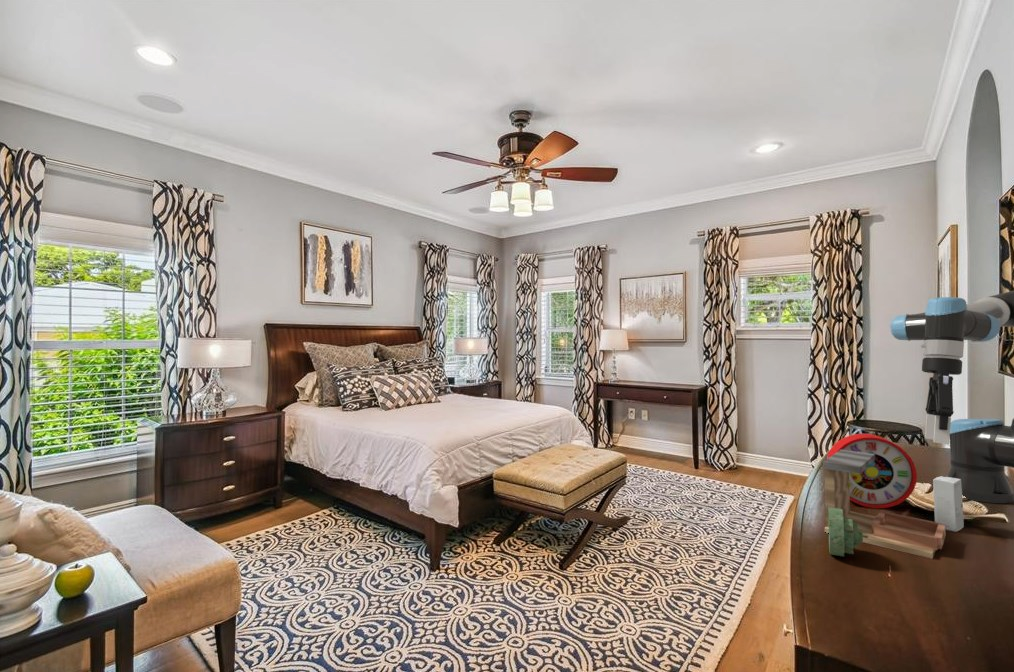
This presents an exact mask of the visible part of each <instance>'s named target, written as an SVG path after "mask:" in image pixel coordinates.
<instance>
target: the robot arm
mask: <svg viewBox="0 0 1014 672" xmlns="http://www.w3.org/2000/svg"><path fill="white" fill-rule="evenodd" d="M889 326H890V333H891V335H892V336H893V337H894V339H896V340H898V341H908V342H910V341H924V342H923V343H921V344H920V347H921V348H923V350H922V351H923V352H922V355H923V356H925V357H923V358H922V363H921V371H922V372H923V373H928V374H933V375H932V377H931V376H930V377H929V381H928V385H929V386H928V394H927V400H926V406H925V408H924V409H925V411H926V416H925V417H926V419H925V431H924V432H925V434H924V439H927V440H932V441H933V443H937V444H943V445H947V446H948V445H949V450H950V451H949V453H950V454H949V455H950V456H949V457H950V459H949V460H950V466H949V470H948V472H947V473H946V475H945V477H951V478H957V479H961V487H962V495H963V496H965V497H966V498H968V499H967V500H971V501H976V502H981V503H982V502H983V503H989V504H990V503H991V504H1009V503H1011V504H1012V503H1014V491H1013V489H1012V487H1011V485H1010V482H1009V480H1008V478H1007V476H1006V475H1007V474H1006V473H1005V467H1008V468H1012V469H1013V468H1014V417H1013V418H1012V420H1011V425H1005V423H1004V421H1003V419H999V418H998V419H997V418H959V419H954V420H952V418H951V417H952V416H953V414H954V412H955V411H954V402H953V401H954V398H953V397H954V395H953V394H954V393H953V381H954V377H953V376H955V375H957V376H959V375H961V374H963V372H962V371H963V361H962V360H961V359H962V358H964V348H965V341H970V342H982V343H983V342H988V341H991V340H993V339H994V338H996V337H997V336H998V334H999V333H1000V330H1001V327H1003V328H1006V327H1007V328H1008V327H1009V328H1010V327H1011V328H1014V290H1010V291H1006V292H1002V293H997V294H994V295H990V296H985V297H982V298H979V299H977V300H976V301H975V302H971V303H967V301H966V299H964V298H962V297H956V296H955V297H954V296H953V297H952V296H945V297H943V296H941V297H940V296H939V297H934V298H931V299H928V301H927V303H926V308H925V312H919V313H914V314H913V313H912V314H910V313H909V314H908V313H906V314H901V315H896V316H894V318H893V319H891V322H890V324H889ZM952 375H953V376H952Z"/></svg>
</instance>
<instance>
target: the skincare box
mask: <svg viewBox="0 0 1014 672" xmlns="http://www.w3.org/2000/svg"><path fill="white" fill-rule="evenodd" d="M932 483H933V484H932V485H933V486H932V487H933V488H932V489H933V490H932V491H933V507H934V509H933V511H934V522H938V523H942V525H945V531H950V532H958V531H961V530H962V529H963V528H965V525H964V524H965V522H964V521H965V520H964V507H963V506H964V505H963V502H964V501H963V498H962V487H961V479H957V478H951V477H946V476H944V475H943V476H942V475H941V476H937V477H935V478H933V480H932Z"/></svg>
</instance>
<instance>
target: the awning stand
mask: <svg viewBox="0 0 1014 672" xmlns="http://www.w3.org/2000/svg"><path fill="white" fill-rule="evenodd" d="M874 461H875V454H870V453H862V452H855V451H847V450H839V451H838V452H837V453H835V454H834V455H832V456H831V457H829V458H828V459H827V458H826V459H825V460H824V461H822V469H824V470H823V472H824V473H823V474H824V507H825V509H824V510H825V511H824V512H825V514H824V516H825V522H824V523H825V526H824V533H825V532H826V533H825V534H828V533H829V525H828V507H831V508H837V509H842V510H843V518H849V519H852V520H853V523H857V525H858V530H862V532H863V535H865V536H868V538H864V537H863V543H866V544H868V545H869V544H870V545H874V546H878V547H882V548H886V549H890V550H894V551H898V552H902V553H906V554H911V555H915V556H919V557H923V558H928V559H931V560H933V559H934V556H935V553H936V551H938V549H939V550H942V548H943V546H944V542H945V539H946V537H947V536H946V533H947V532H946V531H947V530H945V525H942V523H938V522H935V521H932V520H927V519H922V518H917V517H913V516H912V517H911V516H906V515H902V514H896V513H892V512H887V511H882V512H880V511H879V512H878V514H877V515H870V514H865V513H860V512H856V511H851V507H850V502H851V500H850V493H849V472H850V473H857V474H861V473H862V472H863V471H864V470H865V469H866V468H867V467H868V466H869V465H870V464H871V463H872V462H874Z"/></svg>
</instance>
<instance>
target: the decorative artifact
mask: <svg viewBox="0 0 1014 672" xmlns="http://www.w3.org/2000/svg"><path fill="white" fill-rule="evenodd" d="M828 525H829V534H828V550H829V555H831V556H837V557H842V558H843V557H844V558H845V554H849V555H854V548H859V544H860V543H861V544H863V543H864V542H863V537H864V538H868V536H865V535H863V532H862V530H858V525H857V523H853V520H852V519H849V518H843V510H842V509H837V508H831V507H828Z"/></svg>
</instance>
